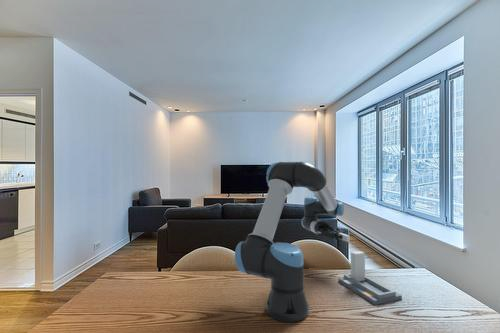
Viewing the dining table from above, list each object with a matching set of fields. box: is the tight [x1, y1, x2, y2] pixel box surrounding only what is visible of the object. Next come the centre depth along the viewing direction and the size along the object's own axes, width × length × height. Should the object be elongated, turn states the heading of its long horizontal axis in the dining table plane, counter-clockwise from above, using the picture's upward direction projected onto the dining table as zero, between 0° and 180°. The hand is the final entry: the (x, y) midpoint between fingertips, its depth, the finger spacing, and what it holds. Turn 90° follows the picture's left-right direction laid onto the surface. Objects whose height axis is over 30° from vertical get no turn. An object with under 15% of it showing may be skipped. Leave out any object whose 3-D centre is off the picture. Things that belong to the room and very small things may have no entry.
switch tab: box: [350, 250, 366, 281], centre depth 120 cm, size 3×5×12 cm, turn 108°
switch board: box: [338, 272, 403, 306], centre depth 115 cm, size 22×13×3 cm, turn 18°
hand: (348, 238), depth 127 cm, fingers closed
